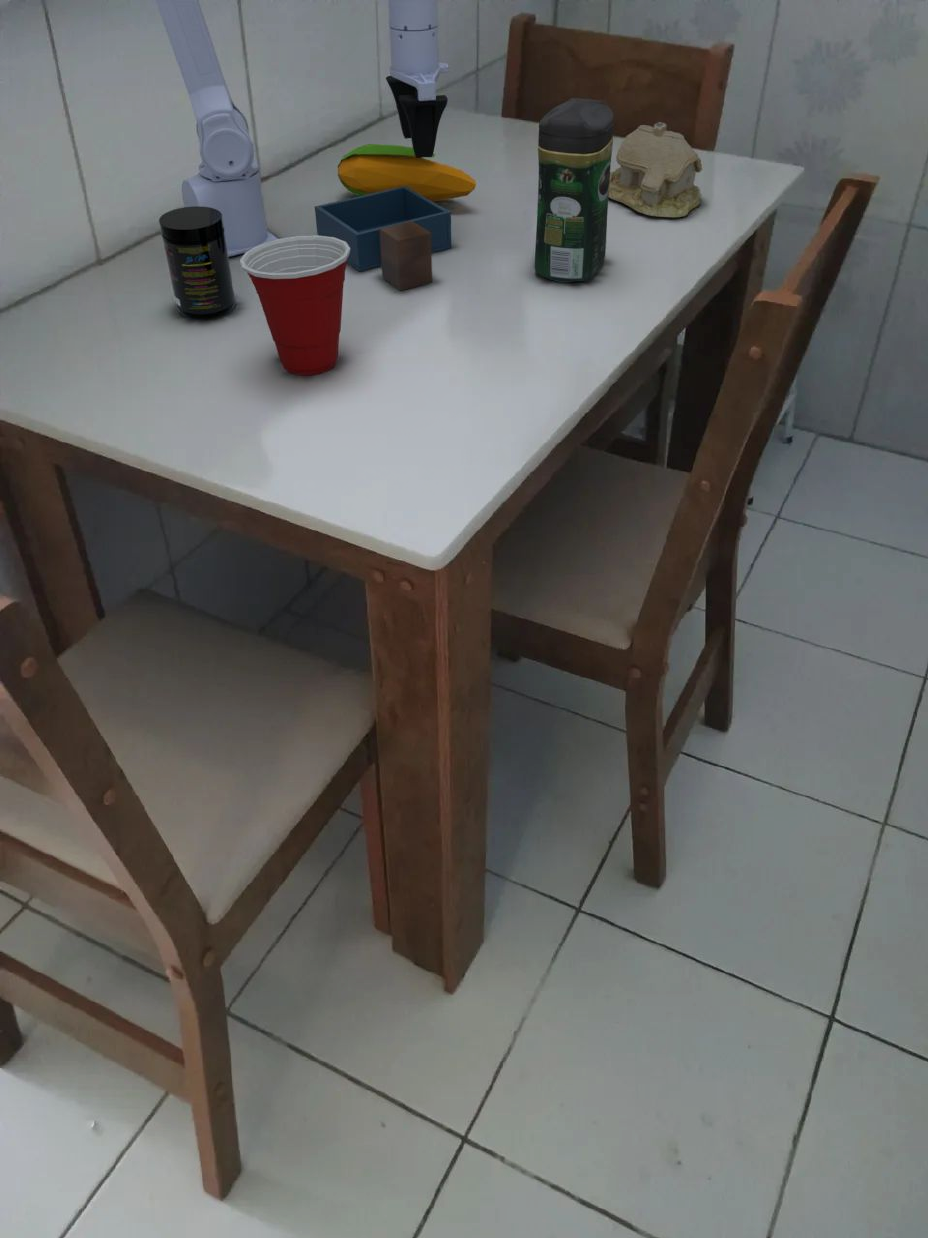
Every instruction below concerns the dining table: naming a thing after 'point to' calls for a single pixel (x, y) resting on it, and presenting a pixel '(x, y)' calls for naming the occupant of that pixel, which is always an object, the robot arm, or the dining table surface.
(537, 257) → the coffee jar
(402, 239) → the block
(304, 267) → the plastic cup
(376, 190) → the corn
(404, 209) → the bin
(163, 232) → the supplement container
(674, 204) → the ceramic model
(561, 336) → the dining table surface
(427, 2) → the robot arm
